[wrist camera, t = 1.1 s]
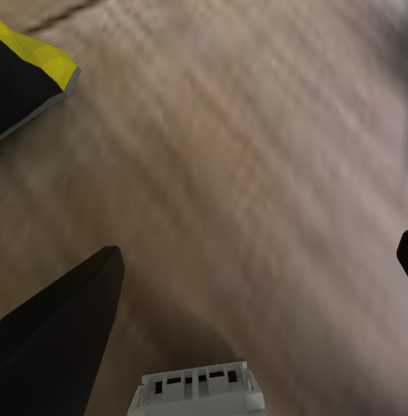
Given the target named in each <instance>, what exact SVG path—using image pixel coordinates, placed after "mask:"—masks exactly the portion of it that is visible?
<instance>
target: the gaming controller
mask: <svg viewBox="0 0 408 416" xmlns="http://www.w3.org/2000/svg"><path fill="white" fill-rule="evenodd" d="M80 72H81V69H80V68H79V67H78V66H77V65H76V64H75V63H74V61H73V60H72V59H71V58H70V56H69V55H68V54H67V52H66V51H64V50H61V49H59V48H57V47H54V46H52V45H49V44H47V43H44V42H42V41H39V40H36V39H34V38H31V37H29V36H26V35H23V34H21V33H18V32H15V31H12V30H11V29H10V28H9V27H7V26H6V25H5V24H4V23H3V22H2V21H0V140H1V139H3V138H4V137H6V136H7V135H9V134H10V133H12V132H13V131H14V130H16V129H17V128H19V127H20V126H22V125H23V124H24V123H26V122H27V121H29V120H30V119H32V118H33V117H35V116H37V115H38V114H39V113H41V112H42V111H44V110H45V109H47V108H49V107H51V106H52V105H54V104H56V103H59V102H61V101H63V100H65V99H66V98H67V97H68V96H69V95H71V94H72V93H73V90H74V88H75V85H76V82H77V80H78V77H79V75H80Z"/></svg>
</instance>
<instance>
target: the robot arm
mask: <svg viewBox="0 0 408 416" xmlns="http://www.w3.org/2000/svg"><path fill="white" fill-rule="evenodd" d="M396 254H397V259H398V261H399V262H400V264H401V266H402V267H403V269H404V271H405V272H406V274H407V276H408V230H407V231H405V232H404V233H403V235H402V237H401V240H400V243H399V246H398V249H397V253H396ZM124 273H125V266H124V262H123V258H122V255H121V251H120V248H119V247H118V246H105V247H104V248H102V249H101V250H99V251H98V252H96V253H95V254H93V255H92V256H91V257H89V258H88V259H86V260H85V261H83V262H82V263H81V264H79V265H78V266H76V267H75V268H73V269H72V270H71V271H69V272H68V273H66V274H65V275H63V276H62V277H61V278H59V279H58V280H56V281H55V282H53V283H52V284H50V285H49V286H48V287H46V288H45V289H43V290H42V291H40V292H39V293H38V294H36V295H35V296H33V297H32V298H30V299H29V300H28V301H26V302H25V303H23V304H22V305H20V306H19V307H17V308H16V309H15V310H13V311H12V312H10V313H9V314H7V315H6V316H5V317H3V318H2V319H1V320H0V416H84V413H85V410H86V407H87V404H88V401H89V397H90V394H91V391H92V388H93V385H94V382H95V379H96V376H97V373H98V370H99V366H100V363H101V360H102V357H103V354H104V351H105V348H106V345H107V342H108V339H109V335H110V332H111V329H112V326H113V323H114V320H115V316H116V312H117V308H118V303H119V298H120V293H121V288H122V283H123V278H124Z"/></svg>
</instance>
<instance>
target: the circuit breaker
mask: <svg viewBox="0 0 408 416" xmlns="http://www.w3.org/2000/svg"><path fill="white" fill-rule="evenodd" d="M244 369H248V368H247V362H246V360H245V361H238V362H232V363H225V364H218V365H211V366H204V367H197V368H190V369H183V370H176V371H169V372H163V373H156V374H149V375H143V376H142V384H144V385H141V386H138V388H137V390H136V393H135V395H134V398H133V400H132V402H131V405H130V407H129V410H128V412H127V416H267V414H266V412H265V404H264V398H263V393H262V391H261V389H260V387H259V385H258V383H257V381H256V379H255V377H254V375H253V373H252V371H251V370H250V369H249V370H244ZM234 370H235V374H236V380H237V382H232V383H229V381H228V375H227V371H234ZM219 371H223V373H224V376H219V377H212V378H210V377H209V373H212V372H219ZM201 375H206V378H207V381H201V382H199V379H198V376H201ZM178 377H181V382H178V383H172V384H167V380H168V379H171V378H178ZM187 377H192V383H188V384H186V381H185V378H187ZM159 381H163V384H162V392H163V393H159V394H156V382H159Z"/></svg>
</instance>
